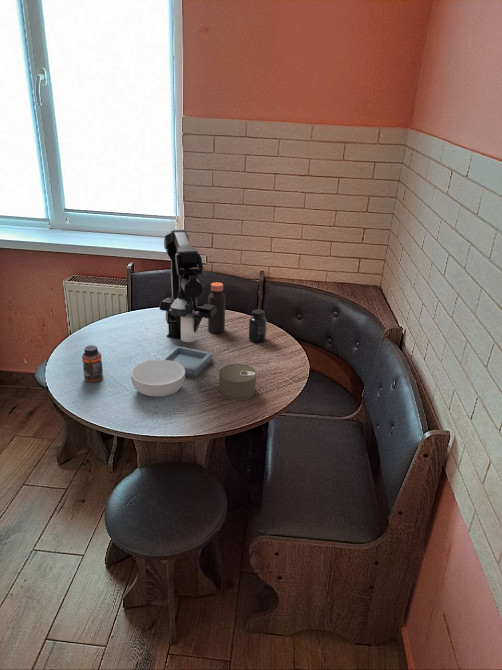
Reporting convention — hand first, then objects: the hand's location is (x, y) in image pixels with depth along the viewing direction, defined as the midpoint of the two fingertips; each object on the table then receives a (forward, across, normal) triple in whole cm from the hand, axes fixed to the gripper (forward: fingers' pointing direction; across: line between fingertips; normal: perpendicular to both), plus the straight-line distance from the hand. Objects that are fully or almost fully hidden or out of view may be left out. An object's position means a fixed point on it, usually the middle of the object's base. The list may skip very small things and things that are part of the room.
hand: (188, 330), depth 170 cm
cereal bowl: (+13, -1, -20) cm, 24 cm away
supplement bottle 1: (+13, -24, -21) cm, 35 cm away
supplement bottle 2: (+13, +16, +30) cm, 36 cm away
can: (+13, +22, -10) cm, 28 cm away
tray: (+13, -1, -1) cm, 13 cm away
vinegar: (+13, -2, +31) cm, 34 cm away
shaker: (+3, 0, 0) cm, 3 cm away
